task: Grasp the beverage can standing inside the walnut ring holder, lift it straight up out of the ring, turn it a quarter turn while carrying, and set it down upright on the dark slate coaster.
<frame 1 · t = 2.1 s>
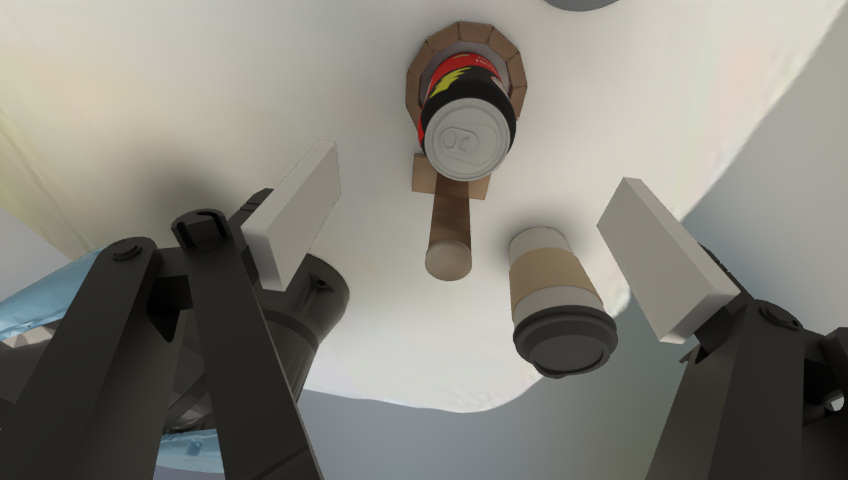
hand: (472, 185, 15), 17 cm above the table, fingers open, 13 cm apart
beverage can: (464, 90, 28), resting in ring holder
ring holder: (464, 90, 28), on the table
coffee cup: (537, 247, 39), on the table
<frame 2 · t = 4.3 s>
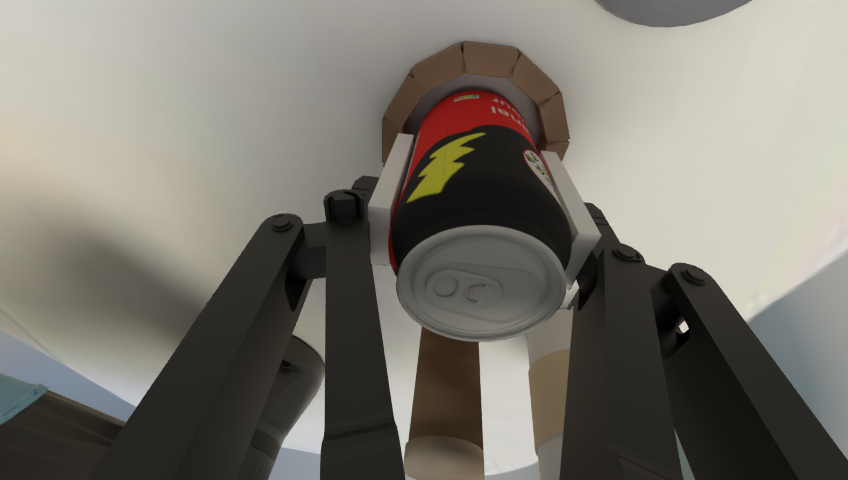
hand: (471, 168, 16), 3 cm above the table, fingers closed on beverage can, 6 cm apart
beverage can: (470, 140, 19), resting in ring holder, touching gripper
ring holder: (470, 141, 19), on the table
coffee cup: (563, 328, 30), on the table
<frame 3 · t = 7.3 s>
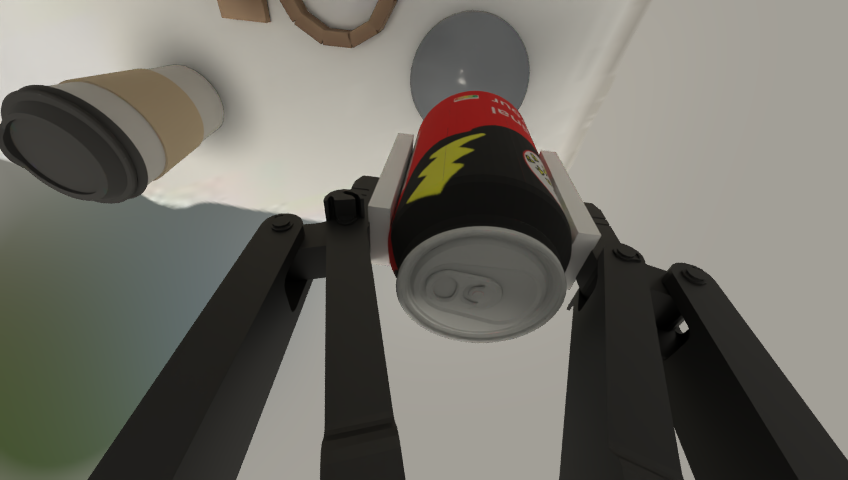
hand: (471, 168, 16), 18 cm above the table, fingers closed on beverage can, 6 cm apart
beverage can: (470, 140, 19), point 14 cm above the table, touching gripper
slate coaster: (468, 81, 30), on the table
coffee cup: (193, 100, 34), on the table
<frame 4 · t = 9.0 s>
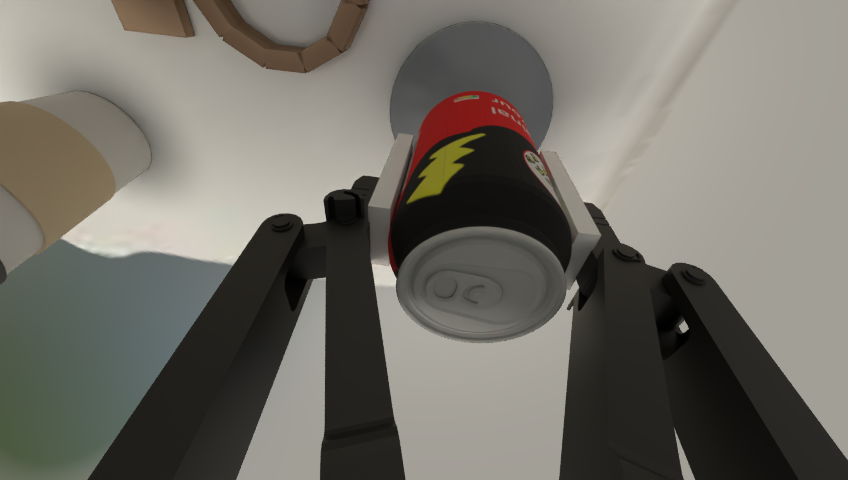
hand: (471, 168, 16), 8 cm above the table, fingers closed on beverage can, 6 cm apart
beverage can: (470, 140, 19), point 4 cm above the table, touching gripper
slate coaster: (468, 116, 22), on the table
coffee cup: (109, 134, 26), on the table
when the fingers open (5 cm above the table, at t = 10.3 s): beverage can drops 1 cm, resting on slate coaster.
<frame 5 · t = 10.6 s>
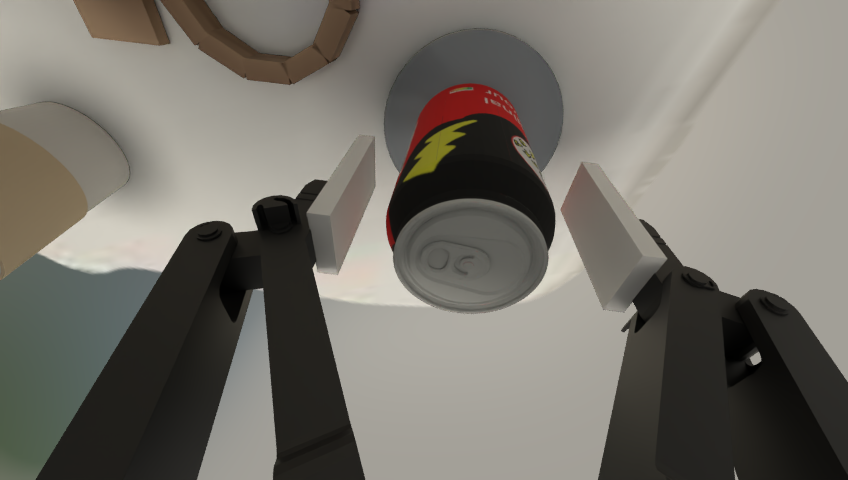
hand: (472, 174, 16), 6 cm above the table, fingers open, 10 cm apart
beverage can: (466, 132, 20), resting on slate coaster
slate coaster: (470, 130, 20), on the table
coffee cup: (83, 148, 24), on the table
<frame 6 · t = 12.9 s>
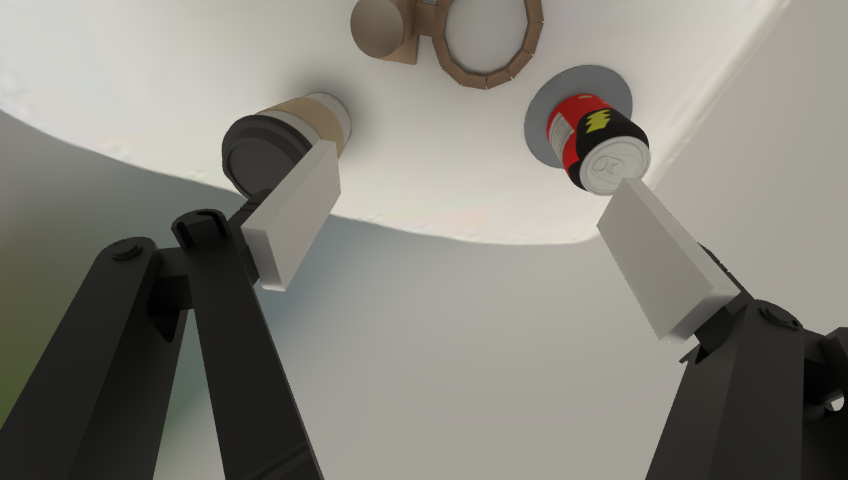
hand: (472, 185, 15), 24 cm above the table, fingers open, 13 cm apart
beverage can: (573, 121, 35), resting on slate coaster
ring holder: (485, 28, 31), on the table
slate coaster: (575, 120, 35), on the table
coffee cup: (324, 122, 39), on the table
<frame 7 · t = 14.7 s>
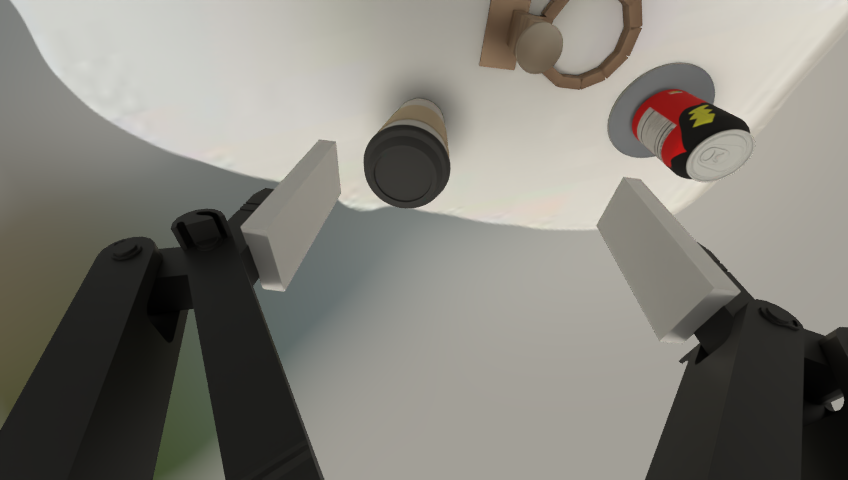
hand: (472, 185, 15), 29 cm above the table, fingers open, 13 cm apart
beverage can: (656, 114, 38), resting on slate coaster
ring holder: (582, 34, 34), on the table
slate coaster: (657, 113, 38), on the table
coffee cup: (419, 125, 42), on the table
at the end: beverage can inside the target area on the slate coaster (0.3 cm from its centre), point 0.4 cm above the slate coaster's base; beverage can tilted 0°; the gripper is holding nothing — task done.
